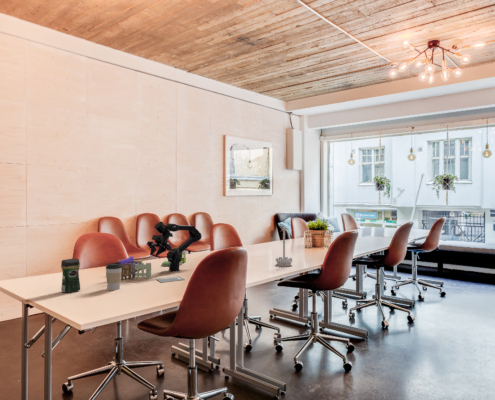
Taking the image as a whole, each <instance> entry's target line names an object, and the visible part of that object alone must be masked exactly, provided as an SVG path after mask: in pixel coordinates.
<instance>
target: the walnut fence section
mask: <svg viewBox="0 0 495 400" xmlns="http://www.w3.org/2000/svg"><path fill="white" fill-rule="evenodd" d="M121 267H122V268H121V281H122V280H127V279H128V280H130V279H131V280H132V272H131V263H128V265H127V264H124V265H123V264H121ZM123 270H124V274H123ZM127 270H128V274H127ZM127 277H128V278H127Z"/></svg>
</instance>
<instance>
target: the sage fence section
mask: <svg viewBox="0 0 495 400" xmlns="http://www.w3.org/2000/svg"><path fill="white" fill-rule="evenodd" d="M135 269H137V270H135ZM139 269H142V270H141V272H140V270H139ZM144 271H145V272H144ZM140 277H141V278H142V279H143V278H145V277H146V278H148V279H151V278H152V262H146V263H144V262H142V264H139V263H137V264H135V263H132V272H131V279H132V278H137V279H138V278H140Z"/></svg>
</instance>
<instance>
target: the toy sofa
mask: <svg viewBox="0 0 495 400" xmlns="http://www.w3.org/2000/svg"><path fill="white" fill-rule="evenodd" d="M117 262H118V263H120V265H121V264H123V265H124V264H127V265H128V263H131V273H132V263H135V264H137V263H139V264H142V263H143V260H137V259H136V260H135V259H134V256H133V255H129V256H128V257H127V258H124V259H118V260H117ZM135 271H137V269H135ZM139 271H142V269H139ZM123 274H124V270H123ZM127 274H128V270H127Z"/></svg>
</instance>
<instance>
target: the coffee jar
mask: <svg viewBox="0 0 495 400" xmlns="http://www.w3.org/2000/svg"><path fill="white" fill-rule="evenodd" d="M80 266H81V264H80V260H79V259H78V258H66V259H62V260H61V266H60V268H61V270H62V271H61V272H62V279H61V292H62V293H65V294H69V293H75V292H76V293H77V292H79V291H81V282H80V274H79V273H80V272H79V269H80Z"/></svg>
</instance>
